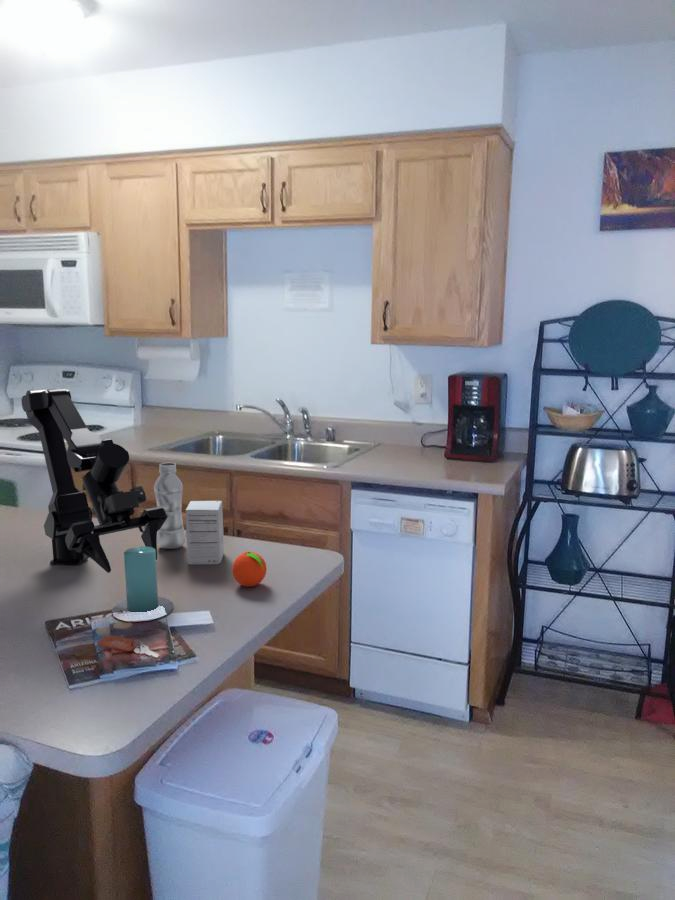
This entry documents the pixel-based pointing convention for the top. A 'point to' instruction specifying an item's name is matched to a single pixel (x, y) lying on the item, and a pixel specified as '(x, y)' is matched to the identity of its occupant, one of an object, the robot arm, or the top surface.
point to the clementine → (249, 569)
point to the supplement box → (204, 532)
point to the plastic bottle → (170, 507)
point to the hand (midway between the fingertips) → (133, 565)
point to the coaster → (161, 601)
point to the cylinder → (141, 579)
